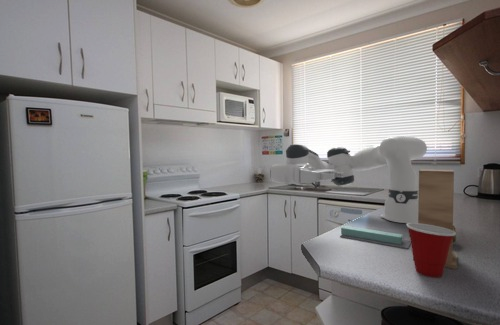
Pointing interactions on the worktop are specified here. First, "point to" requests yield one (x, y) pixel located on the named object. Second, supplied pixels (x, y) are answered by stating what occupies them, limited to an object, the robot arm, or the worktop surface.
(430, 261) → the plastic cup
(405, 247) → the mat
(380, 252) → the worktop surface
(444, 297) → the worktop surface
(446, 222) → the stand
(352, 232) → the block
